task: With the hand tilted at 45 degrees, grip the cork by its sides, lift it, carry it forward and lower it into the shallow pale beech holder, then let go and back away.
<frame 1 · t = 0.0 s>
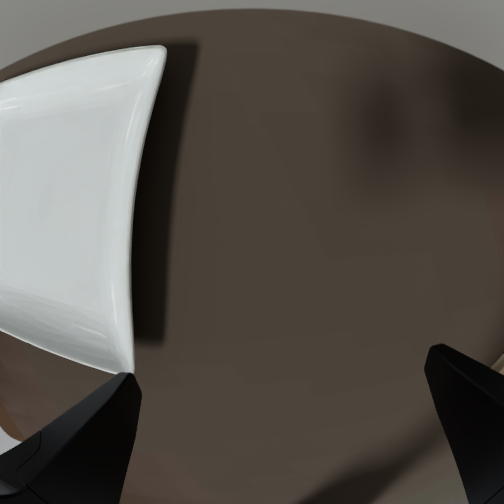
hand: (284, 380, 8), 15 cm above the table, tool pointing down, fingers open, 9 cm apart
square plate: (40, 202, 24), on the table
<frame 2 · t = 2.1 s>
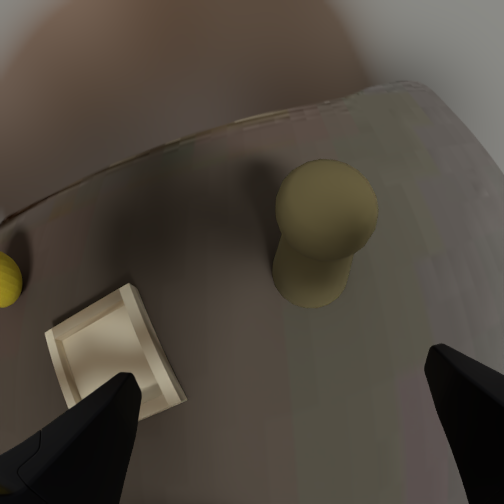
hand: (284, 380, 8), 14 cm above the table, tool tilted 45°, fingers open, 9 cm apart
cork: (310, 271, 23), on the table
lemon: (21, 291, 25), on the table
holder: (111, 366, 21), on the table
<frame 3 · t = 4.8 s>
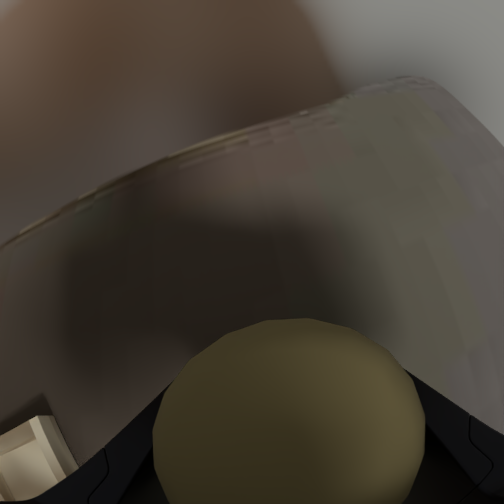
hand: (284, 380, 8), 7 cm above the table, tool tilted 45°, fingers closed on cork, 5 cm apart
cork: (284, 406, 13), on the table, touching gripper
holder: (46, 498, 11), on the table
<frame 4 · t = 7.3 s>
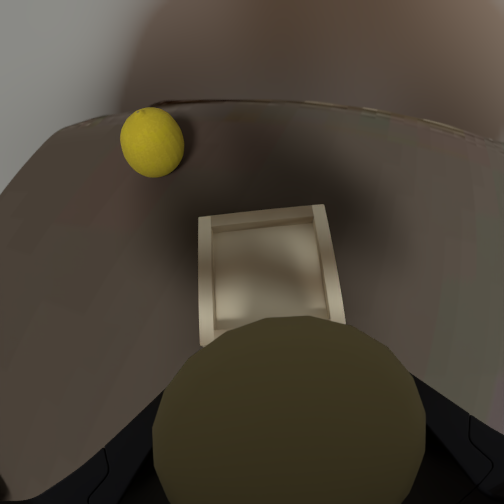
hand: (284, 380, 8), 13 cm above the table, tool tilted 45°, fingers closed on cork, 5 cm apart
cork: (284, 405, 13), point 6 cm above the table, touching gripper
lemon: (166, 171, 28), on the table
holder: (268, 277, 23), on the table
when the fingers open (8 cm above the table, at t = 9.7 s): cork stays where it is, resting on holder.
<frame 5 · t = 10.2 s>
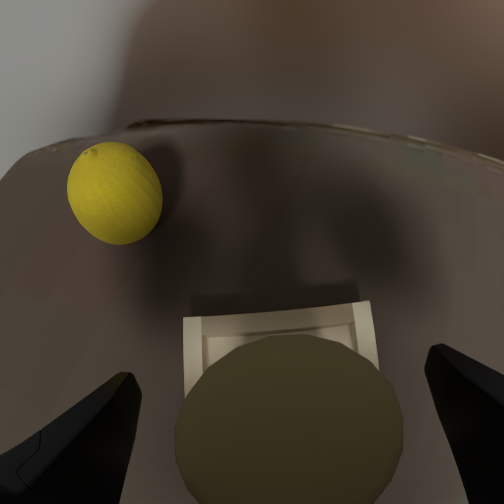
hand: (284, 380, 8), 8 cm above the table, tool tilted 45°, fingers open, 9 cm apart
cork: (284, 407, 14), resting on holder
lemon: (142, 228, 20), on the table
holder: (283, 404, 15), on the table
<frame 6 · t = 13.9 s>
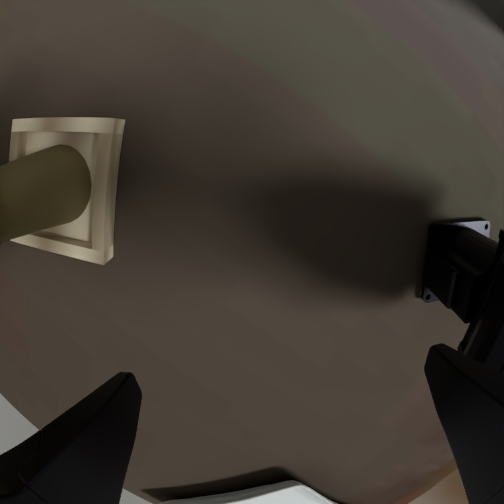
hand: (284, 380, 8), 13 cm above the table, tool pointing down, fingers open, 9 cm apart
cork: (61, 184, 19), resting on holder
holder: (62, 183, 19), on the table
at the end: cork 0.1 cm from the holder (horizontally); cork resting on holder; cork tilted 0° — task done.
